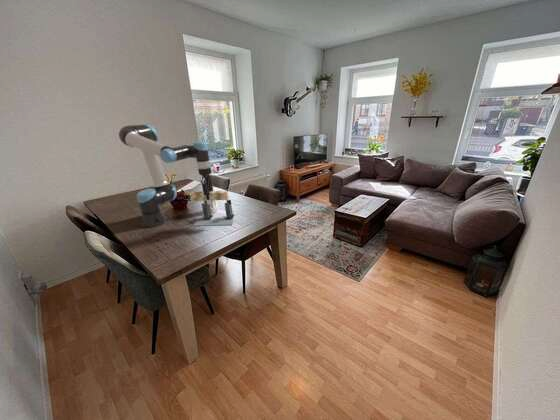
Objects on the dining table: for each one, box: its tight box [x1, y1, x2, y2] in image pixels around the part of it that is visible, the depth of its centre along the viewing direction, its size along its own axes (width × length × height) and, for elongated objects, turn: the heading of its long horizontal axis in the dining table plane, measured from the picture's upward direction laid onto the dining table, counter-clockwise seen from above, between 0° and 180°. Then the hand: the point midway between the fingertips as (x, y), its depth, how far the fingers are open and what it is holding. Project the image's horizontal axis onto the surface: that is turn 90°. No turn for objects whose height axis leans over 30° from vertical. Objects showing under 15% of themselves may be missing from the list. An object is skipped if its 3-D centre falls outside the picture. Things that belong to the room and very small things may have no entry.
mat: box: [193, 219, 234, 227], centre depth 152 cm, size 26×7×1 cm, turn 89°
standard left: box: [201, 201, 214, 221], centre depth 158 cm, size 5×7×12 cm
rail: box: [189, 190, 230, 202], centre depth 144 cm, size 24×4×5 cm, turn 89°
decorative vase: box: [201, 186, 220, 215], centre depth 167 cm, size 11×11×25 cm
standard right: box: [224, 199, 235, 220], centre depth 158 cm, size 5×7×12 cm
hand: (210, 202), depth 146 cm, fingers closed on rail, 4 cm apart
